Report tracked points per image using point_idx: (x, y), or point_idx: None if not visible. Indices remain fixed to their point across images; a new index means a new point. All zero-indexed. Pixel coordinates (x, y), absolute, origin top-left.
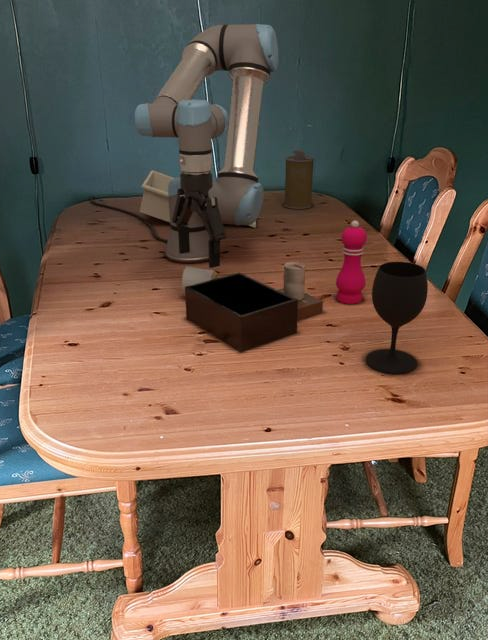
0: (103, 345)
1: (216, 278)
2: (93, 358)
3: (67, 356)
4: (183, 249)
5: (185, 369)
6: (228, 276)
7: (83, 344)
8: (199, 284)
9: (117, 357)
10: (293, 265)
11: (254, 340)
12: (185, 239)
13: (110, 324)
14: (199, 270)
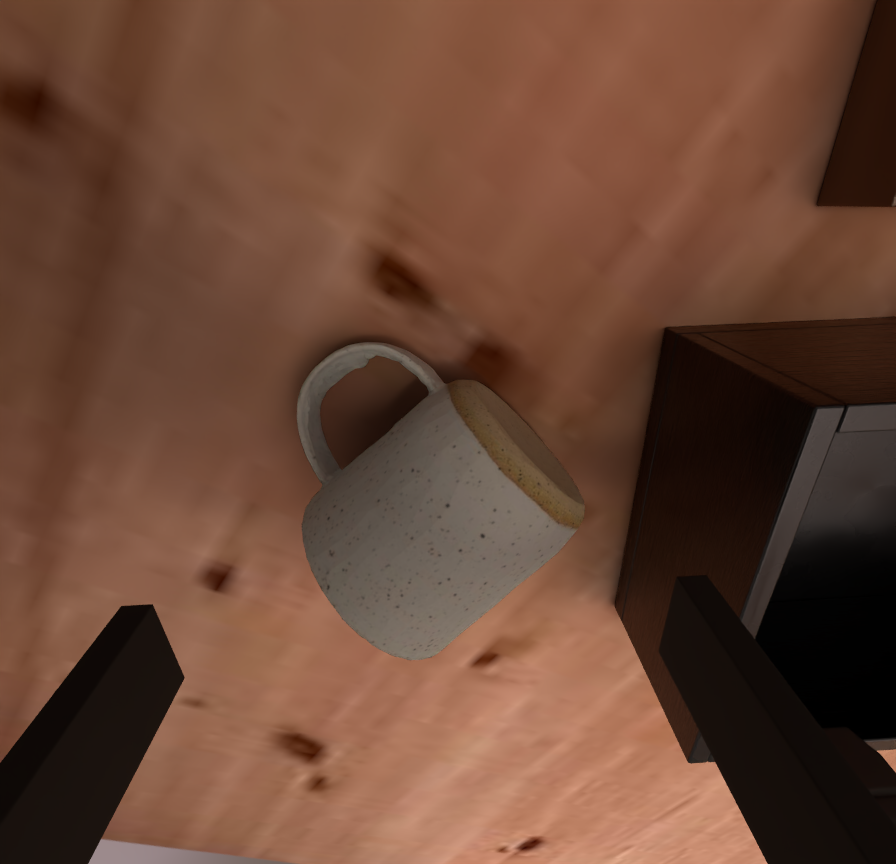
0: (590, 808)
1: (517, 441)
2: (636, 832)
3: (581, 859)
4: (156, 694)
5: None
6: (795, 525)
7: (547, 832)
8: None
9: (678, 803)
10: None
11: None
12: (69, 795)
13: (473, 772)
14: (472, 588)
